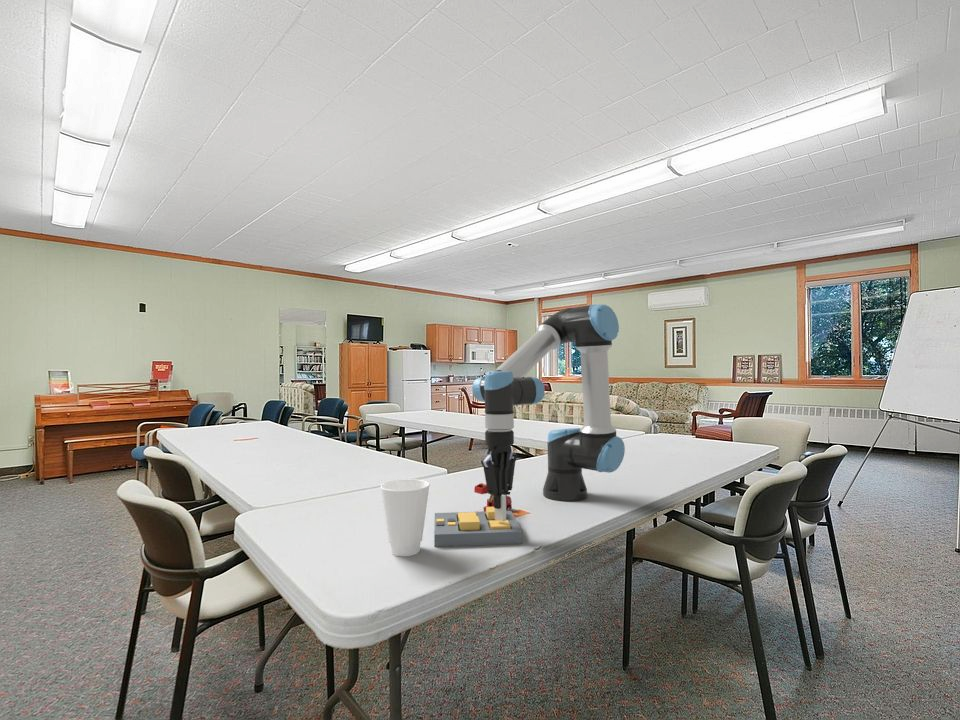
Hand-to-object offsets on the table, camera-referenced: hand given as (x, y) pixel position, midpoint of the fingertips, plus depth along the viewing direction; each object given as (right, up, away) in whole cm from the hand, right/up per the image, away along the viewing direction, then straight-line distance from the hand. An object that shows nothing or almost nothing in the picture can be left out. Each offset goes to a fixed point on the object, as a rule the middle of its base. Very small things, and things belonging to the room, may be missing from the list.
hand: (500, 519), depth 126 cm
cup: (-23, -5, -9) cm, 26 cm away
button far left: (-1, -3, +8) cm, 8 cm away
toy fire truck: (-1, -5, +21) cm, 21 cm away
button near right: (-8, -3, -1) cm, 9 cm away
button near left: (0, -4, 0) cm, 4 cm away
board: (-7, -5, +3) cm, 9 cm away
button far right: (-9, -4, +7) cm, 12 cm away
